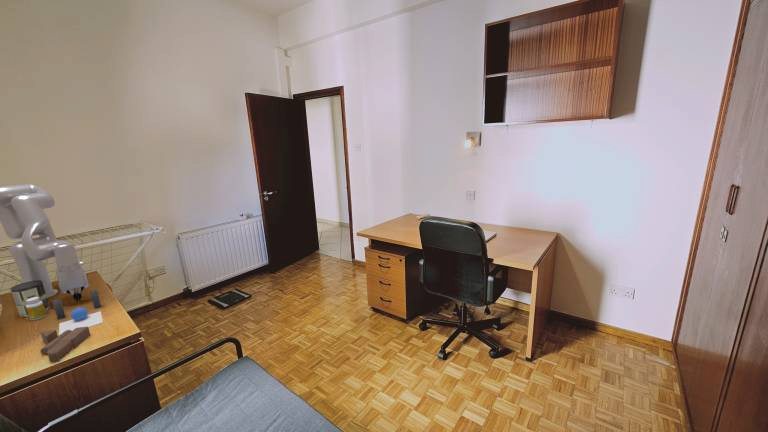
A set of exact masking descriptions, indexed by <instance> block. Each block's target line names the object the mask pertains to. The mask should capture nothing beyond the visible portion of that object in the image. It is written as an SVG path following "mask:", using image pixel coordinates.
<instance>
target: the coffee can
mask: <svg viewBox="0 0 768 432" xmlns="http://www.w3.org/2000/svg"><path fill="white" fill-rule="evenodd" d="M9 290H10V291H11V294H12V296H13V299H14V303H15V306H16V308H17V311H18V314H19V316H20V317H29V316H28V312H27V309H26V305H27V302H26V300H27V299H29V298H33V297H39V301H42V302H43V305H44V308H45V311H48V310H49V309H51V305H50V302H49V299H48V298H47V296H46V293H45V289H44V286H43V282H42V281H41V280H36V281H29V282H25V283H23V282H22V283H18V284H16V285H13V286H12V287H10V288H9Z"/></svg>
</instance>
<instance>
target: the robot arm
mask: <svg viewBox="0 0 768 432" xmlns="http://www.w3.org/2000/svg"><path fill="white" fill-rule="evenodd" d="M55 201H56V200H55V198H54V197H53V196H52V194H50V193H49V192H48V191H46V190H45V189H43V188H41V187H39V186H38V185H36V184H32V183H24V184H23V183H22V184H13V185H3V186H2V185H1V186H0V224H1V226H2V229H3V231H4V233H5V234H6V236H7V237H8V238H10V239H11V240H19V239H21V240H19V241H17V242H14V243H12V244H11V245H10V246H9V248H8V252H9V254H10V256H11V257H12V259H13V261H14V263H15V264H16V265H15V266H16V267H17V271H18V274H19V276H20V279H21V281H22V283H25V282H29V281H36V280H41V281H42V282H43V286H44V289H45V293H46V296H47V299H48V298H52V297H54V296H56V295H57V294H58V293H60V294H69V295H72V298H73V301H76V302H75V303H77V302H81V301H82V298H83V296H82V292H83V290H85V289H86V288H89V287H90V283H89V281H88V277H87V274H86V272H85V270H84V267H83V266H82V265H84V262H83V261H79V258H78V254H77V250H76V248H75V245H74V243H73V242H70V241H69V242H67V241H65V240H63V239H62V240H61V239H60V240H58V239H57V237H56V234H55V232H54V230H53V228H52V225H51V223H50V218H49V217H48V215H47V214H46V212H45V211H44V210H45V209H50V208H53V207H54V206H55V205H56V204H55V203H56V202H55ZM34 236H37V237H34ZM52 258H54V260H55V262H56V266H57V272H56V278H57V284H58V287H59V290H60V291H59V290H58V289H57V288H53V285H52V282H51V281H52V280H51V278H50V275H49V271H48V269H47V265H46V262H44V261H47V260H49V259H52ZM74 289H77V291H75V290H74Z"/></svg>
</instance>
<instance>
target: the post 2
mask: <svg viewBox="0 0 768 432" xmlns="http://www.w3.org/2000/svg"><path fill="white" fill-rule="evenodd" d="M89 294H90V297H91V301H92V305H93V308H94V309H100V308H101V307H102V304H101V301H100V300H101V299H100V296H99V292H98V289H92V290H90V291H89Z"/></svg>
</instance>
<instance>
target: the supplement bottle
mask: <svg viewBox="0 0 768 432" xmlns="http://www.w3.org/2000/svg"><path fill="white" fill-rule="evenodd" d="M26 302H27V305H26V309H27V312H28V316H27V317H28V319H29V320H30V321H37V320H41V319H44V317H47V312H46V311H47V310H46V311H45V308H44V305H43V302H42V301H39V297H33V298H29V299H27V300H26Z"/></svg>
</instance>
